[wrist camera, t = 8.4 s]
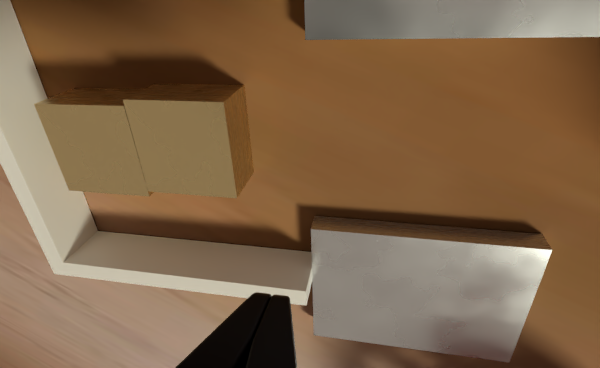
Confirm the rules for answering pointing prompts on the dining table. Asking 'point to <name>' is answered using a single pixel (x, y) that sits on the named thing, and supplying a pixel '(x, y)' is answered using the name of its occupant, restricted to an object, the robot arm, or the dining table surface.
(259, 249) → the tray
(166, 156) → the tan block
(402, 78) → the dining table surface
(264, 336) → the robot arm
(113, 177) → the beige wooden block
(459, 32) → the plate
